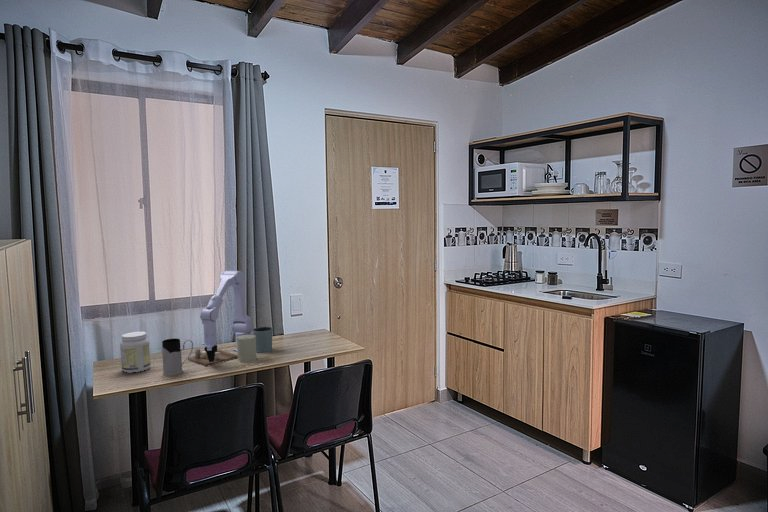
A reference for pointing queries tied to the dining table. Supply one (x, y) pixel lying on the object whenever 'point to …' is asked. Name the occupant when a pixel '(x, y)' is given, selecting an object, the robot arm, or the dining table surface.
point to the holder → (172, 356)
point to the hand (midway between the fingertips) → (211, 361)
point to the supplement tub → (135, 352)
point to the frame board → (222, 357)
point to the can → (246, 348)
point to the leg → (204, 355)
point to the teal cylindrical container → (263, 339)
